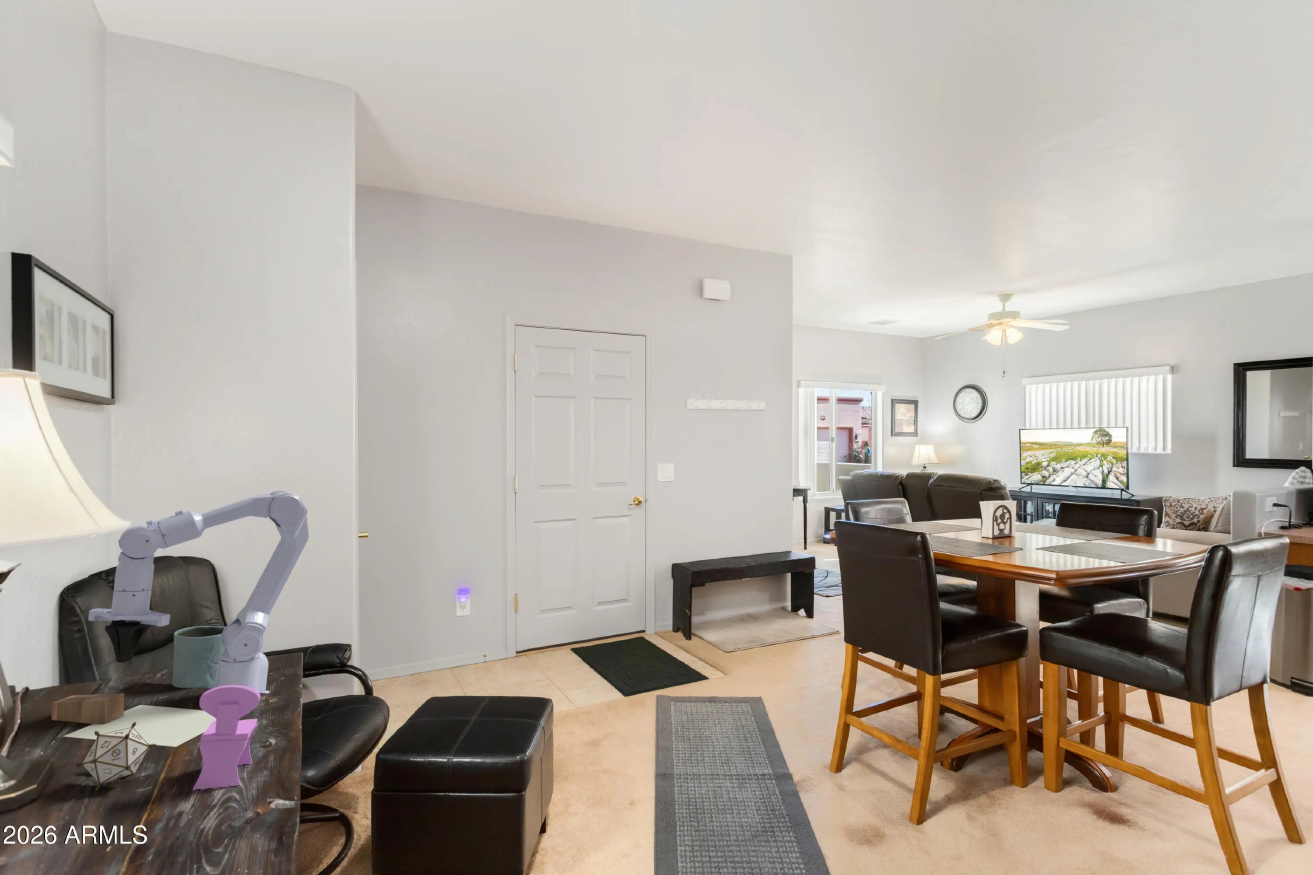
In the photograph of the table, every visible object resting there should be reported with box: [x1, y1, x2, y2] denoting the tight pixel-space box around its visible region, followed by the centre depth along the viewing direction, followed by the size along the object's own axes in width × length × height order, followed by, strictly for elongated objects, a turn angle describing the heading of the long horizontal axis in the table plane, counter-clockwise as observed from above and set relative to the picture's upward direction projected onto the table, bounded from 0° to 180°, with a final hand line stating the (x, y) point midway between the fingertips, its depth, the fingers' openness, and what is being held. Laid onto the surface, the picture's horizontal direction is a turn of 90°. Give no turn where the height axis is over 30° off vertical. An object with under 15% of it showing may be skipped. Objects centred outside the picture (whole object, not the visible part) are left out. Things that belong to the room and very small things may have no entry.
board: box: [62, 704, 216, 748], centre depth 120 cm, size 16×20×1 cm
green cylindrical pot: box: [171, 625, 227, 689], centre depth 143 cm, size 10×10×12 cm
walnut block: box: [51, 692, 125, 725], centre depth 120 cm, size 4×4×10 cm
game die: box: [74, 722, 158, 791], centre depth 101 cm, size 9×8×10 cm
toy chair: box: [192, 685, 261, 791], centre depth 105 cm, size 8×9×15 cm
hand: (124, 661), depth 125 cm, fingers closed
